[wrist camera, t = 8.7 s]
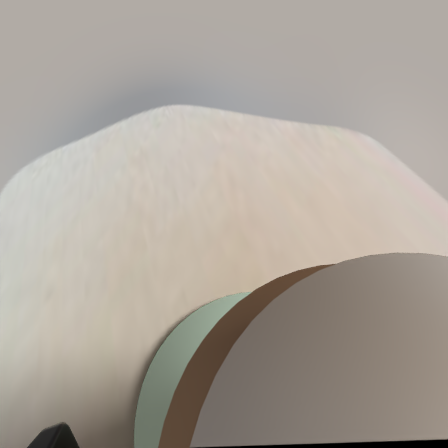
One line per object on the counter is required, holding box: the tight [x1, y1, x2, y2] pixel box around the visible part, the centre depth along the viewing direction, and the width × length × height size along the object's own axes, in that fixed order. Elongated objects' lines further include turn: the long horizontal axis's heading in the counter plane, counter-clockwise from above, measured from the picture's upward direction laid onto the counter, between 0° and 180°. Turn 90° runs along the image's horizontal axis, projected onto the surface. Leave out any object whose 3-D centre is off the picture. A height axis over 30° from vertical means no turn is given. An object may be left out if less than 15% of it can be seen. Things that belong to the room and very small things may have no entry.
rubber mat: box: [134, 292, 252, 448], centre depth 14 cm, size 11×11×1 cm
